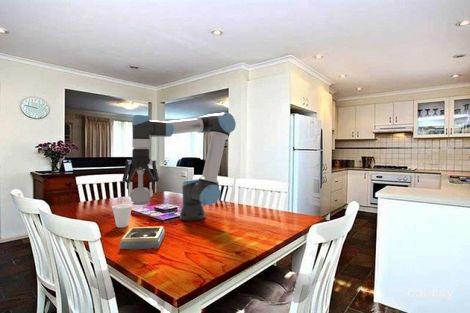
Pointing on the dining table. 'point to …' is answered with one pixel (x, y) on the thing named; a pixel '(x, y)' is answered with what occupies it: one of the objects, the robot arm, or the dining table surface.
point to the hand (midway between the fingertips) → (140, 196)
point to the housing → (142, 238)
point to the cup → (122, 214)
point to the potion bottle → (140, 190)
